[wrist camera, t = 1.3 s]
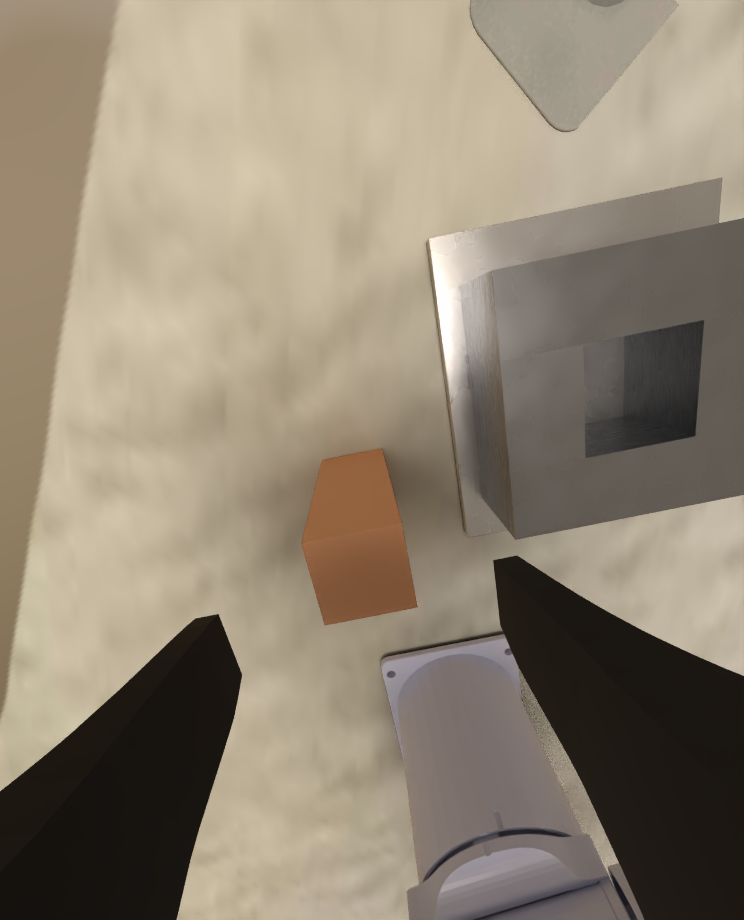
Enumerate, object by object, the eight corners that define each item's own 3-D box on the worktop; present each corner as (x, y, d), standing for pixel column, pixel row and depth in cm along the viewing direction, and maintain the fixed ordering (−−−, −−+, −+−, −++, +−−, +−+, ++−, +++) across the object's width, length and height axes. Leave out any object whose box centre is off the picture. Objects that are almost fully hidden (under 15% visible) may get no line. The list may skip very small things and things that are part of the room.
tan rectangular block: (392, 502, 20) (417, 607, 12) (335, 514, 20) (324, 625, 12) (381, 448, 19) (401, 523, 11) (322, 460, 19) (301, 543, 11)
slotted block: (687, 488, 20) (780, 530, 16) (464, 532, 20) (495, 585, 16) (709, 183, 16) (845, 124, 11) (426, 242, 16) (454, 205, 12)
